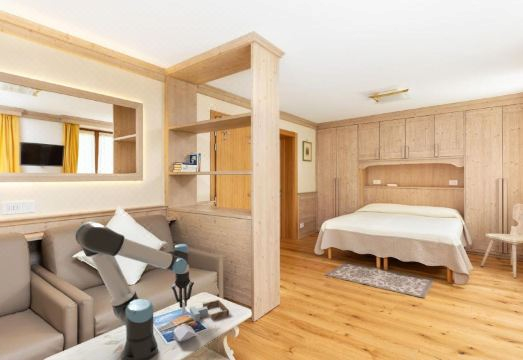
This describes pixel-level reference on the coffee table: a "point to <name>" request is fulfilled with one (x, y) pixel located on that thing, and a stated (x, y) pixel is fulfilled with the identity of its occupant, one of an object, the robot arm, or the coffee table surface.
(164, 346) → the coffee table surface
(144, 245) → the robot arm
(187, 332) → the pale lavender faceted block
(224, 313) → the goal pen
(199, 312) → the t block
